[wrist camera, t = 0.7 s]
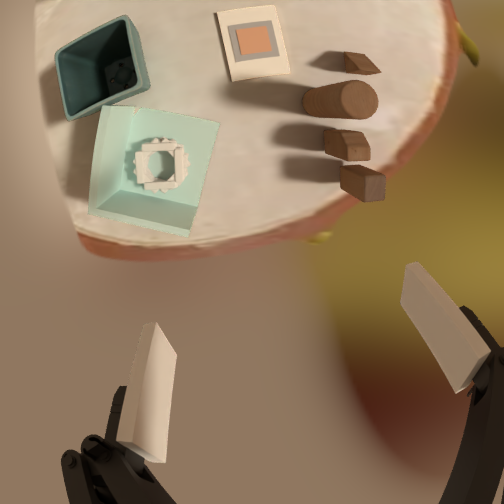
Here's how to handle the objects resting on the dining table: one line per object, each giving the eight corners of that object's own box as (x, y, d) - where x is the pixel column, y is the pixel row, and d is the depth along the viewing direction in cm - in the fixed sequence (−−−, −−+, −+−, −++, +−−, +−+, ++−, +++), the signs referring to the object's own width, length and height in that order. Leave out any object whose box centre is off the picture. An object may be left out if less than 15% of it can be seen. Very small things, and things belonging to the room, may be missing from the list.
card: (216, 13, 23) (216, 11, 22) (274, 5, 22) (274, 4, 22) (232, 82, 27) (232, 81, 27) (290, 73, 27) (291, 72, 27)
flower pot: (151, 34, 23) (127, 12, 15) (165, 93, 27) (143, 86, 19) (90, 61, 23) (53, 52, 15) (103, 118, 28) (66, 123, 20)
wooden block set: (365, 182, 35) (410, 206, 26) (307, 188, 34) (343, 215, 25) (357, 56, 26) (405, 43, 17) (295, 51, 26) (330, 28, 17)
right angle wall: (196, 212, 35) (188, 237, 28) (112, 194, 33) (87, 214, 26) (220, 123, 30) (216, 124, 23) (128, 105, 27) (102, 105, 21)
